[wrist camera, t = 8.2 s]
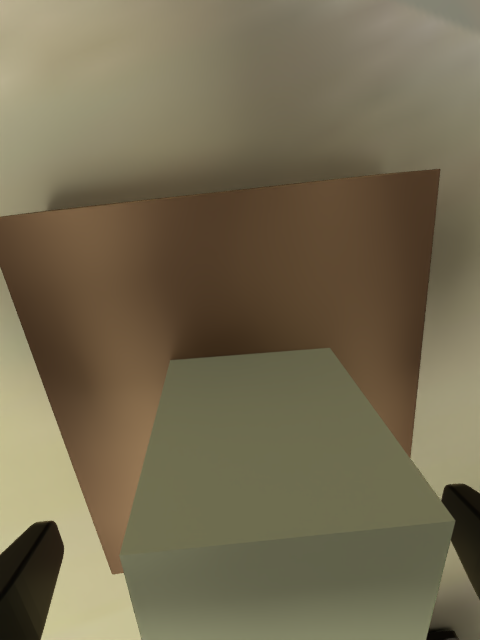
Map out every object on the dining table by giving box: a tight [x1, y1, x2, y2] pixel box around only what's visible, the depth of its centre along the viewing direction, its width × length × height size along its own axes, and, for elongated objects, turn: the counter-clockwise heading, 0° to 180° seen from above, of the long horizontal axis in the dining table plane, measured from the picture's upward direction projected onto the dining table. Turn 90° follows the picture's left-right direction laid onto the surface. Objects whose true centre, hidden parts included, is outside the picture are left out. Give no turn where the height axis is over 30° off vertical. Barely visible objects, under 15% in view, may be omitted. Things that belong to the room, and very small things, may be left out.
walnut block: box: [0, 169, 440, 574], centre depth 13 cm, size 12×14×4 cm
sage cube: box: [119, 348, 455, 640], centre depth 9 cm, size 5×5×6 cm
